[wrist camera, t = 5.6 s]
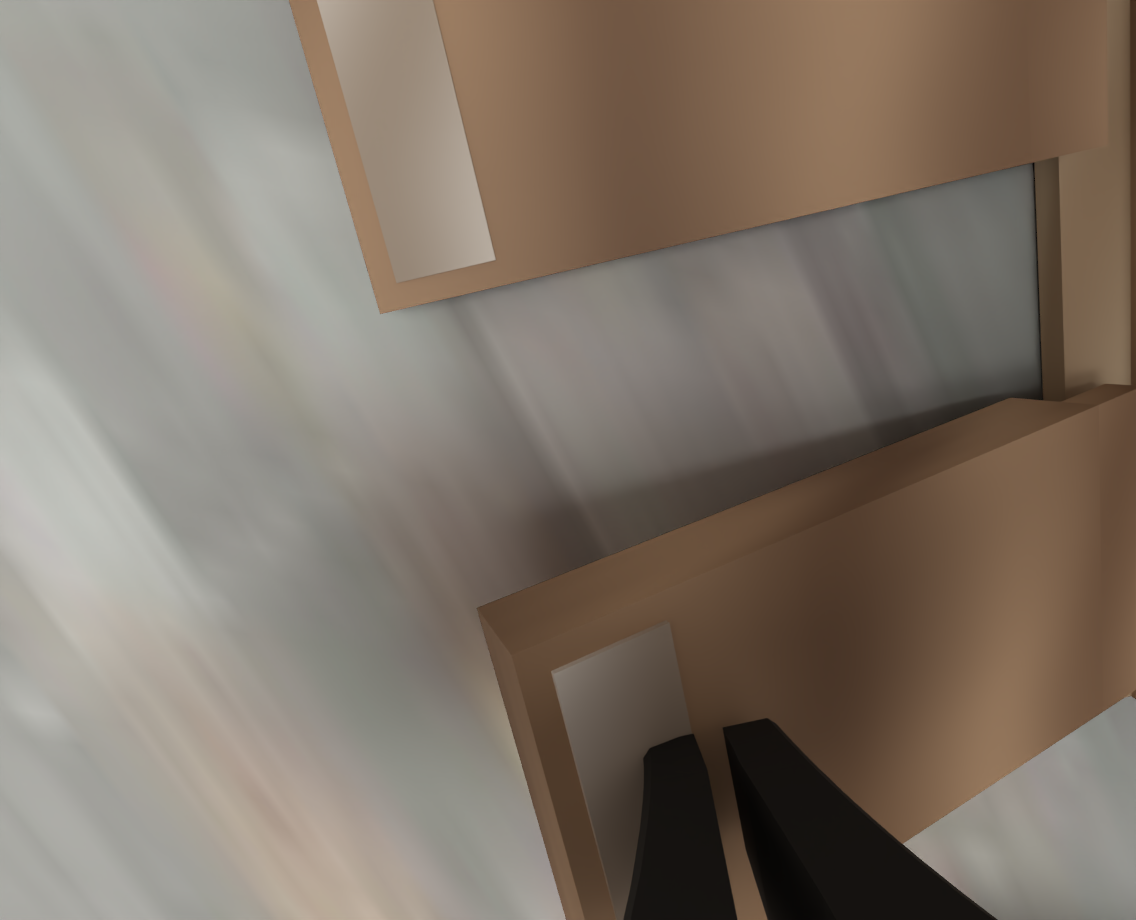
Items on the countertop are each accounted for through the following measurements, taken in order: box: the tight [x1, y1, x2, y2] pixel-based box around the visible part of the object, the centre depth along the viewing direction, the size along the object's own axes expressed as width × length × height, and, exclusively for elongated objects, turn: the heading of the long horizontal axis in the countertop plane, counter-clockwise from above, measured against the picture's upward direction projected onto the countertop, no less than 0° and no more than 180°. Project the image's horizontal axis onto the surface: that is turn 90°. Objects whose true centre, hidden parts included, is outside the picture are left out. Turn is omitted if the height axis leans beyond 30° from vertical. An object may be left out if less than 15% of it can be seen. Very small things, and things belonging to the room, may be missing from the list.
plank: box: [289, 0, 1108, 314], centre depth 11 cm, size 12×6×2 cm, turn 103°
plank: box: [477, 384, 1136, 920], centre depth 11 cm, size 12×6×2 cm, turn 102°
